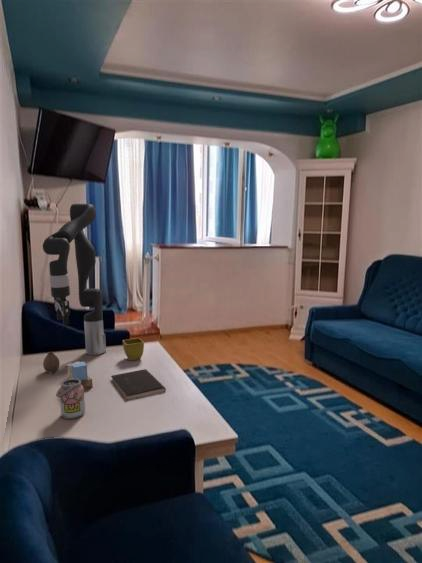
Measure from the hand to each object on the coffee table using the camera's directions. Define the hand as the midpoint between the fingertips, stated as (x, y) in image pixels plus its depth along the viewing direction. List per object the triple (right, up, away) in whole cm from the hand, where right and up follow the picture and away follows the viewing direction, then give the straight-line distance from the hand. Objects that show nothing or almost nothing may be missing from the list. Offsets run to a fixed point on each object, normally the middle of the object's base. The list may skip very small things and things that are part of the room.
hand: (63, 321), depth 181 cm
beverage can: (+14, -30, -32) cm, 47 cm away
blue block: (+10, -22, -9) cm, 26 cm away
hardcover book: (+33, -26, -8) cm, 43 cm away
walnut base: (+10, -26, -9) cm, 30 cm away
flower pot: (+26, -21, +24) cm, 41 cm away
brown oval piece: (-8, -24, +9) cm, 27 cm away
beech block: (+5, -24, +2) cm, 25 cm away
